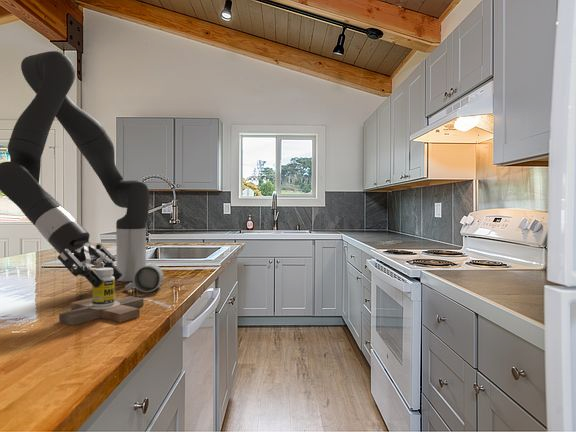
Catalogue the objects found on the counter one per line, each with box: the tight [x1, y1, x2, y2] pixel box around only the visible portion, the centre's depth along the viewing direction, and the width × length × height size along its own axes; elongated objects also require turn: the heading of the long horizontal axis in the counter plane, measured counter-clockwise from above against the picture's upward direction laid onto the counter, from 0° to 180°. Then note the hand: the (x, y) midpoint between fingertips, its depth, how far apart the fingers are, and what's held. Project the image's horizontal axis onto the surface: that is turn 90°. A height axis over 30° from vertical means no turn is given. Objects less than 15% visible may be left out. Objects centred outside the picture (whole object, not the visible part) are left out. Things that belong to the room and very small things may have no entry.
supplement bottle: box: [91, 267, 116, 307], centre depth 88 cm, size 5×5×8 cm
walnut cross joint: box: [58, 295, 145, 326], centre depth 88 cm, size 18×18×2 cm
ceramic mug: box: [124, 263, 164, 293], centre depth 112 cm, size 11×8×8 cm
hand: (110, 281), depth 88 cm, fingers open, 7 cm apart
